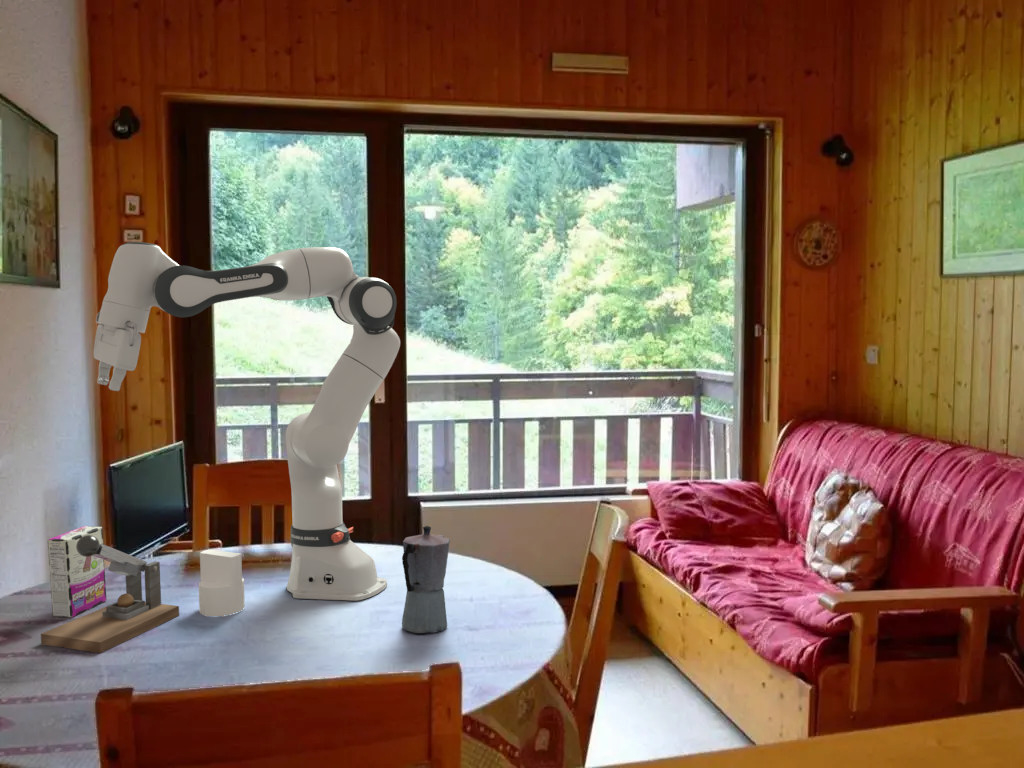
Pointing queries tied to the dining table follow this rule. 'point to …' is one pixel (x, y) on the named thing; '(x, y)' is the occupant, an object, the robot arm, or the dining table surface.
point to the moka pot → (425, 582)
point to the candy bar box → (75, 574)
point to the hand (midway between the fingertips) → (107, 387)
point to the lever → (110, 556)
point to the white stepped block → (221, 583)
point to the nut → (125, 600)
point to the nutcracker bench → (116, 618)
